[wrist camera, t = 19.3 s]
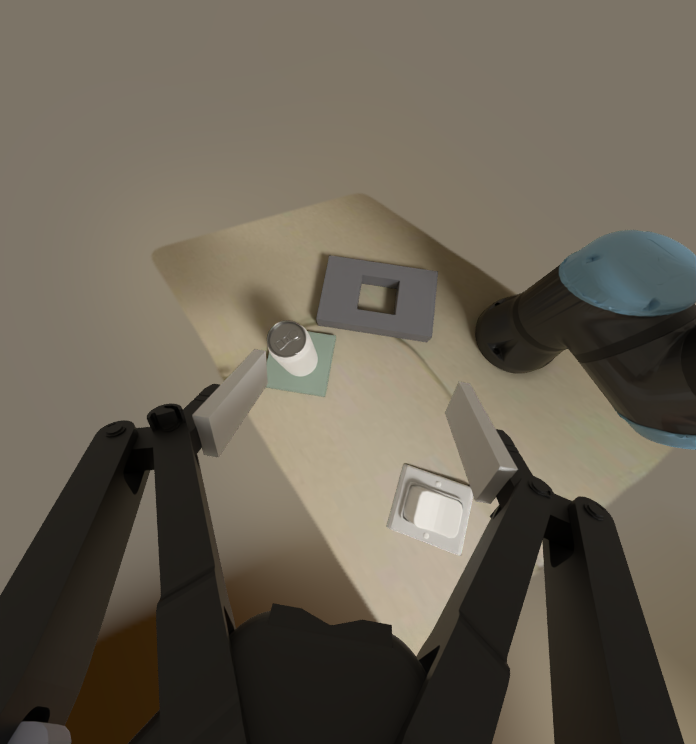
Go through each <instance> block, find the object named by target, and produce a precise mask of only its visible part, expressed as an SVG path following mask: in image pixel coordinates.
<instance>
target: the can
mask: <svg viewBox="0 0 696 744" xmlns="http://www.w3.org/2000/svg"><path fill="white" fill-rule="evenodd" d="M267 345H268V350H269V352H270V354H271V355H272V357H273V358H274V359H275V360H276V361H277V362H278V363H279V364H280V365H281V366H283V367H284V368H285V369H286V370H287V371H288V372H289V373H290V374H292V375H294V376H300V377H301V376H306V375H308V374H310V373H311V372H313V370H314V369H315V368H316V366H317V362H318V357H317V353H316V350H315V348H314V345H313V342H312V340H311V338H310V335H309V333H308V332H307V330H306V329H305V328H304V327H303V326H301V325H300V324H298V323H296V322H294V321H289V320H286V321H281V322H278V323H277V324H275V325H274V326H273V327H272V328H271V329H270V331H269V332H268V335H267Z"/></svg>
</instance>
